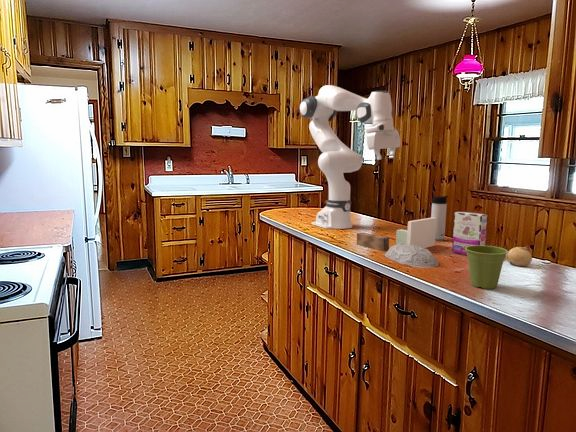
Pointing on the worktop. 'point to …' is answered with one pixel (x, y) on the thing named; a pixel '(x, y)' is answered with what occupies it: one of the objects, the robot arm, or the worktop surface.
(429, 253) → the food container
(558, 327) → the worktop surface
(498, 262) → the plant pot
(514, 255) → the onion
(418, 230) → the post block
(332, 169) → the robot arm
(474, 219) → the candy bar box
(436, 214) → the travel mug
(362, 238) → the rail
